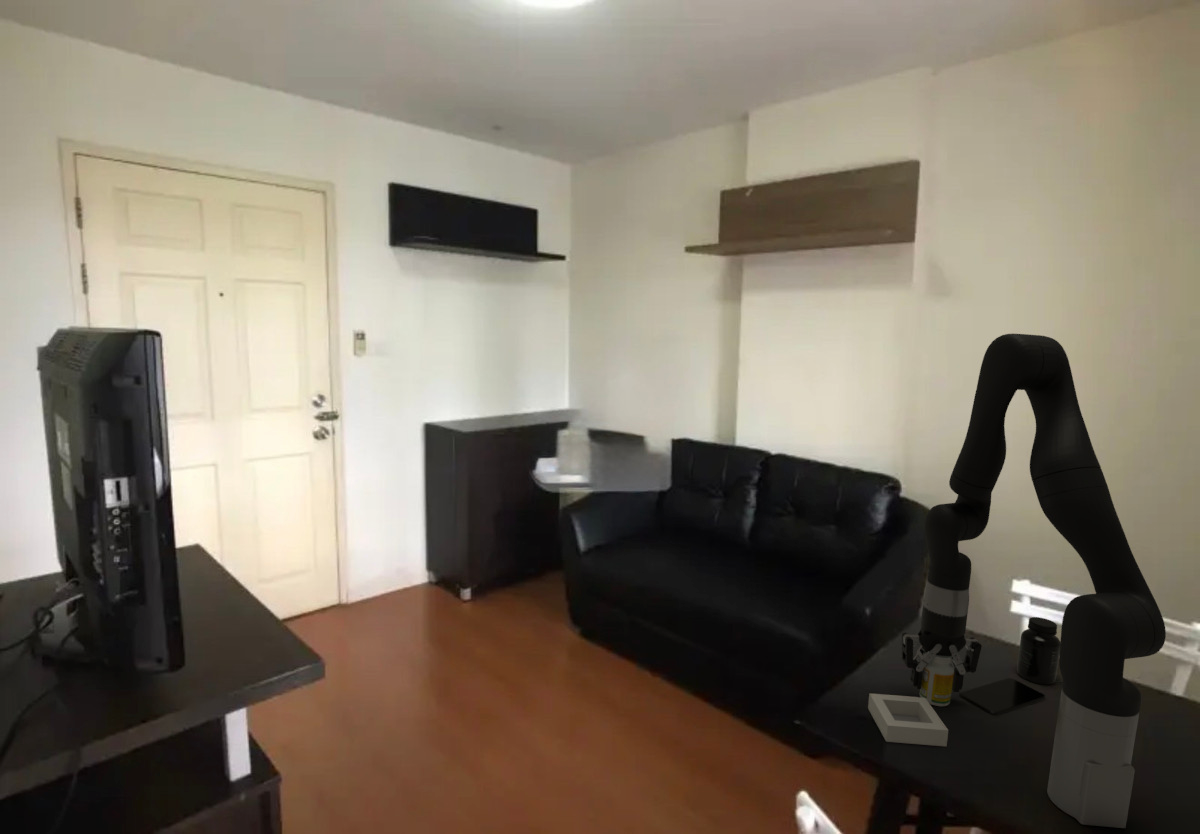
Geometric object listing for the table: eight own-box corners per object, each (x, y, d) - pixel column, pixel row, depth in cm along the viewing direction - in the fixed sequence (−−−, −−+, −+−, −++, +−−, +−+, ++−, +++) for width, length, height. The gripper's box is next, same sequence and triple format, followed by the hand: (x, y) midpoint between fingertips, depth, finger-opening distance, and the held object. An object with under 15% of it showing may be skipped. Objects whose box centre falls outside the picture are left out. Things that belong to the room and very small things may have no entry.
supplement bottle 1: (914, 697, 128) (919, 651, 127) (926, 688, 132) (932, 643, 130) (942, 710, 124) (948, 662, 123) (955, 701, 128) (960, 654, 126)
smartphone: (994, 718, 123) (1048, 700, 130) (994, 714, 123) (1048, 696, 130) (955, 696, 130) (1009, 680, 137) (956, 692, 130) (1009, 676, 137)
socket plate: (946, 746, 114) (948, 730, 113) (886, 741, 114) (887, 725, 114) (923, 712, 124) (925, 697, 123) (868, 708, 124) (869, 693, 124)
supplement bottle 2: (1045, 670, 141) (1052, 616, 139) (1062, 687, 134) (1070, 631, 132) (1010, 666, 142) (1017, 613, 140) (1025, 683, 135) (1033, 627, 133)
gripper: (913, 612, 122) (904, 696, 125) (995, 617, 121) (984, 702, 124) (898, 595, 130) (890, 675, 132) (975, 600, 129) (965, 681, 131)
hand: (935, 688), depth 128 cm, fingers open, 6 cm apart
